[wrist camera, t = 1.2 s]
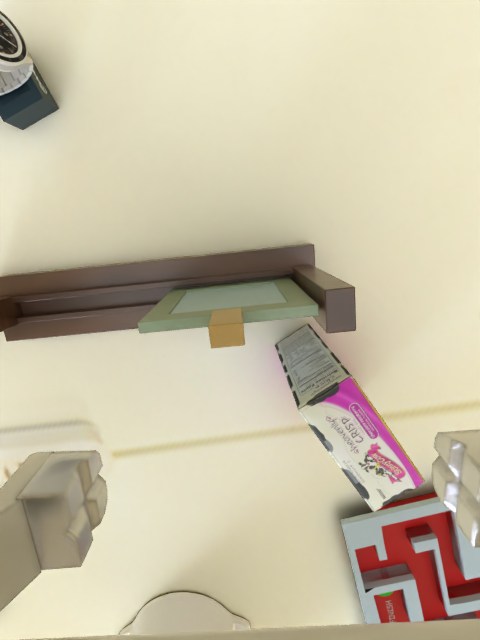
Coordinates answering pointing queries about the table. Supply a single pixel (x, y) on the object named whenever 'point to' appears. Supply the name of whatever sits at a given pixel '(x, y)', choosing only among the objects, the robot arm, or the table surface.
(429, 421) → the table surface
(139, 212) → the table surface
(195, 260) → the window frame
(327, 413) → the candy bar box
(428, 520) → the maze game
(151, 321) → the window pane
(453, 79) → the table surface
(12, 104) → the watch
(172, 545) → the table surface
